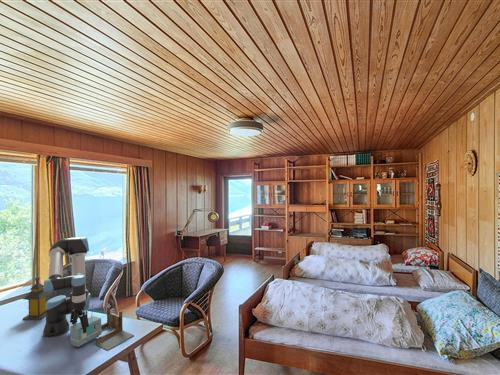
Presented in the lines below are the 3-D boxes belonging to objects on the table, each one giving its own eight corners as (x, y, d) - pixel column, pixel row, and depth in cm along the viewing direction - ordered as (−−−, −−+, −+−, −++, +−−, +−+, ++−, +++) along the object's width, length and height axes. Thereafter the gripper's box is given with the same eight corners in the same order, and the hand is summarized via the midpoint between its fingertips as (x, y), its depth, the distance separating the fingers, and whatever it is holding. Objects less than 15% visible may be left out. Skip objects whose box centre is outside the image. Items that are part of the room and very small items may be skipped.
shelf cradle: (84, 337, 187) (83, 316, 186) (109, 325, 202) (108, 306, 202) (97, 343, 179) (97, 322, 179) (122, 330, 195) (122, 311, 195)
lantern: (40, 320, 209) (39, 280, 208) (21, 320, 210) (20, 280, 209) (53, 311, 223) (52, 274, 223) (36, 311, 224) (35, 274, 223)
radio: (79, 349, 172) (78, 316, 171) (70, 345, 175) (69, 314, 175) (103, 335, 186) (102, 306, 185) (94, 332, 190) (93, 303, 189)
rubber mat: (96, 345, 178) (96, 344, 178) (122, 331, 194) (122, 330, 194) (107, 351, 172) (107, 350, 172) (133, 335, 189) (133, 335, 189)
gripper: (63, 299, 178) (63, 334, 178) (83, 306, 167) (83, 343, 168) (75, 295, 184) (75, 328, 185) (95, 301, 174) (95, 337, 175)
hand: (79, 335), depth 176 cm, fingers closed on radio, 9 cm apart
